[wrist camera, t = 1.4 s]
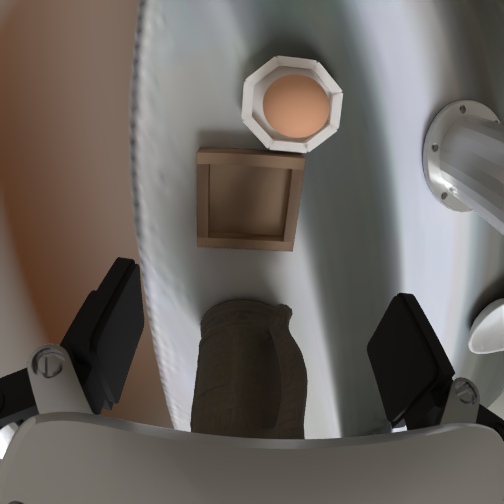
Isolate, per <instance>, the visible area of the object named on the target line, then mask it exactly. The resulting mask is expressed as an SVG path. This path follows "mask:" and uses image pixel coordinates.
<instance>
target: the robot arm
mask: <svg viewBox="0 0 504 504" xmlns="http://www.w3.org/2000/svg"><path fill="white" fill-rule="evenodd" d="M423 169H424V174H425V178H426V181H427V184H428V186H429V189H430V190H431V192H432V194H433V195H434V197H435V198H436V199H437V200H438V201H439V202H440V203H442V204H443V205H444V206H446V207H447V208H449V209H451V210H453V211H459V212H467V211H471V210H474V211H475V212H476V213H477V214H479V215H480V216H481V217H482V218H484V219H485V220H486V221H487V222H489V223H490V224H491V225H492V226H493V227H494V228H496V229H497V230H498V231H499V232H500V233H501V234H503V235H504V125H503V124H501V123H500V121H499V119H498V118H497V116H496V115H495V113H494V112H493V111H492V110H491V109H490V108H489V107H487V106H485V105H484V104H482V103H479V102H476V101H472V100H466V99H465V100H457V101H455V102H452V103H450V104H448V105H447V106H446V107H444V108H443V109H442V110H441V111H440V112H439V113H438V114H437V115H436V117H435V118H434V120H433V122H432V123H431V125H430V128H429V130H428V133H427V135H426V139H425V143H424V150H423ZM143 328H144V313H143V303H142V293H141V281H140V268H139V265H138V264H135V261H134V260H133V259H127V258H120V257H118V258H117V259H116V260H115V262H114V264H113V265H112V267H111V268H110V270H109V271H108V273H107V275H106V276H105V278H104V279H103V281H102V283H101V284H100V286H99V288H98V289H97V291H95V290H93V291H91V293H90V294H89V295H88V297H87V298H86V300H85V302H84V303H83V305H82V307H81V309H80V310H79V312H78V313H77V315H76V317H75V319H74V320H73V322H72V324H71V326H70V327H69V329H68V331H67V333H66V334H65V336H64V338H63V340H62V342H61V344H60V346H59V345H56V344H46V345H42V346H40V347H38V348H36V349H35V350H34V351H33V352H32V353H31V355H30V356H29V358H28V362H27V368H25V369H22V370H20V371H17V372H15V373H12V374H10V375H7V376H5V377H2V378H0V463H1V464H0V504H504V420H503V419H501V418H500V417H498V416H497V415H495V414H494V413H492V412H491V411H489V410H488V409H487V408H485V407H484V406H482V405H481V404H479V403H480V394H479V391H478V389H477V387H476V386H475V385H474V383H473V382H471V381H470V380H469V379H466V378H462V377H460V378H456V379H455V380H454V381H453V380H452V377H453V375H454V374H455V371H454V369H453V367H452V365H451V363H450V361H449V359H448V357H447V355H446V353H445V351H444V349H443V347H442V345H441V343H440V341H439V339H438V337H437V336H436V334H435V332H434V330H433V328H432V326H431V324H430V323H429V321H428V319H427V317H426V315H425V314H424V312H423V310H422V308H421V307H420V305H419V303H418V301H417V300H416V298H415V296H414V295H413V294H407V293H399V294H397V296H395V297H393V299H392V301H391V303H390V305H389V306H388V308H387V310H386V312H385V314H384V316H383V318H382V320H381V321H380V323H379V325H378V327H377V329H376V331H375V332H374V334H373V336H372V338H371V339H370V341H369V343H368V346H367V353H368V356H369V359H370V362H371V365H372V369H373V372H374V375H375V378H376V382H377V385H378V388H379V392H380V395H381V399H382V402H383V406H384V409H385V413H386V416H387V419H388V421H390V422H391V425H392V429H393V428H400V427H404V426H405V425H406V427H407V431H402V432H395V433H388V434H380V435H371V436H361V437H348V438H333V439H296V440H293V439H257V438H241V437H228V436H218V435H209V434H201V433H193V432H186V431H180V430H174V429H167V428H161V427H156V426H150V425H145V424H140V423H135V422H130V421H126V420H121V419H116V418H110V417H106V416H101V415H98V414H100V413H101V410H102V408H104V409H107V410H111V409H112V406H113V403H116V404H117V403H118V402H119V400H120V396H121V393H122V390H123V387H124V383H125V381H126V377H127V374H128V371H129V368H130V365H131V362H132V359H133V356H134V354H135V351H136V348H137V345H138V342H139V339H140V337H141V334H142V331H143Z"/></svg>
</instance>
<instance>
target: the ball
mask: <svg viewBox="0 0 504 504" xmlns="http://www.w3.org/2000/svg"><path fill="white" fill-rule="evenodd" d="M329 109H330V105H329V99H328V96H327V94H326V92H325V90H324V89H323V87H322V86H321V85H320V84H319V83H318V82H316V81H315V80H314V79H312V78H310V77H307V76H304V75H299V74H290V75H286V76H283V77H280V78H278V79H277V80H275V81H274V82H273V83H272V84H271V85H270V86H269V87H268V89H267V90H266V92H265V94H264V98H263V112H264V116H265V118H266V120H267V122H268V123H269V124H270V126H271V127H272V128H273V129H275V130H276V131H277V132H279V133H280V134H282V135H285V136H288V137H293V138H301V137H307V136H310V135H312V134H314V133H316V132H317V131H318V130H319V129H321V128H322V126H323V125H324V124H325V122H326V120H327V118H328V115H329Z"/></svg>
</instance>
